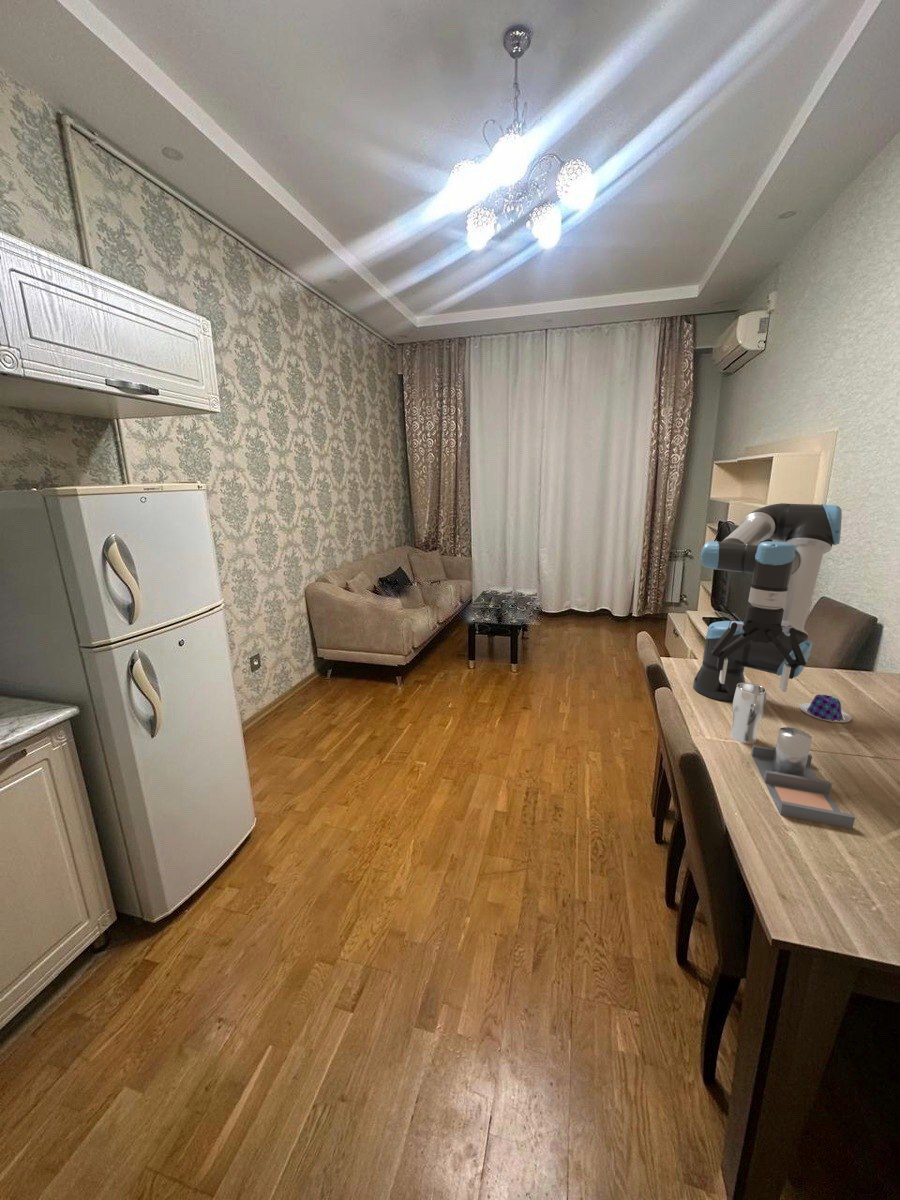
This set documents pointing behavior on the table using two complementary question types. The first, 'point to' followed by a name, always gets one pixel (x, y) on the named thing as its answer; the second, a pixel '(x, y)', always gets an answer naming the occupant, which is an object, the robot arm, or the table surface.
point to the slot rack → (800, 792)
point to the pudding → (825, 708)
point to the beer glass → (747, 711)
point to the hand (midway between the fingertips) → (751, 685)
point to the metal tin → (791, 751)
